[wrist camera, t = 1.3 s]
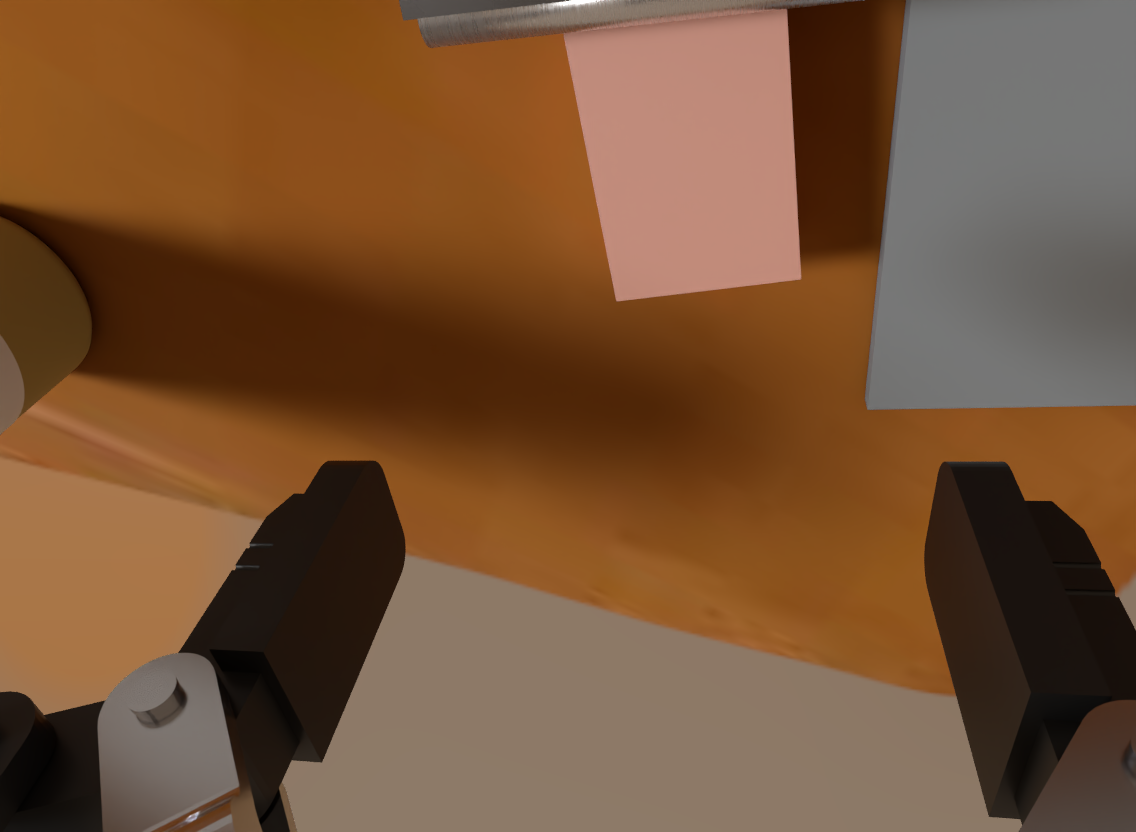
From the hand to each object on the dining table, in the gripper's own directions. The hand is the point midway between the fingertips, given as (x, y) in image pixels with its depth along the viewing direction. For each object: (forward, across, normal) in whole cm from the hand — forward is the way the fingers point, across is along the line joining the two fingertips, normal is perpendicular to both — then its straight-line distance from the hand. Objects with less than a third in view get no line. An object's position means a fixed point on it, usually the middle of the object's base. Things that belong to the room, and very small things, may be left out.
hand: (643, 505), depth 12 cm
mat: (+14, -10, 0) cm, 17 cm away
